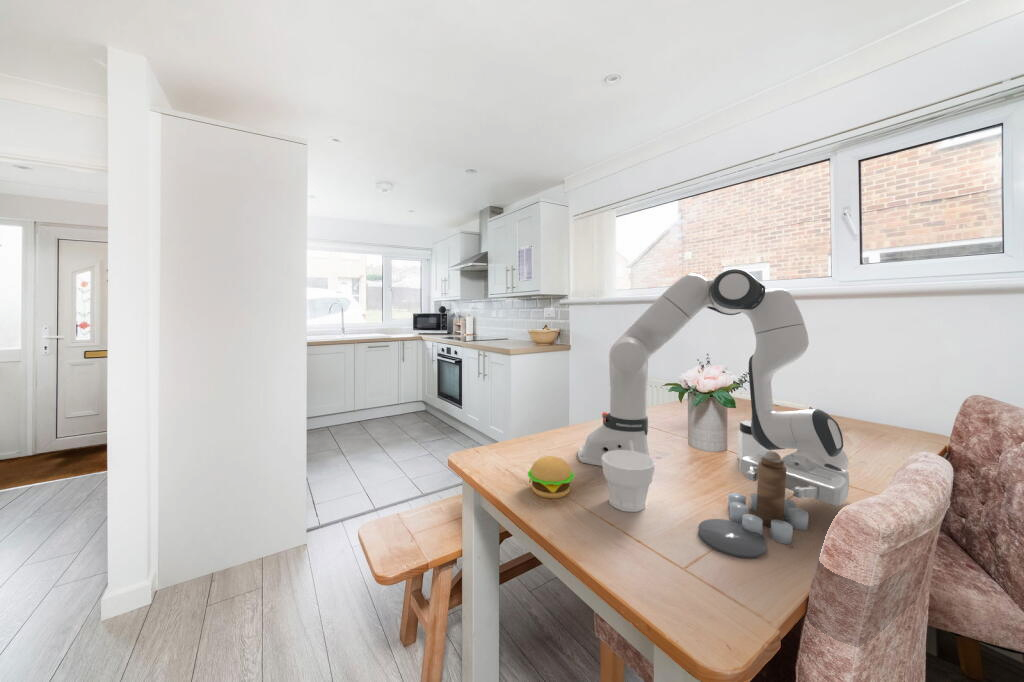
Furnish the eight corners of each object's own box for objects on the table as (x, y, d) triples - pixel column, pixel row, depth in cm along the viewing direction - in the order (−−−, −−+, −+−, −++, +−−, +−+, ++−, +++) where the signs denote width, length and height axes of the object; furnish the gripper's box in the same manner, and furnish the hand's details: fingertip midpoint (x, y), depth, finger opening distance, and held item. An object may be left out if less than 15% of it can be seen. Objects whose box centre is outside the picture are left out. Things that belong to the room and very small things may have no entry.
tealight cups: (741, 537, 77) (741, 523, 77) (720, 501, 92) (720, 489, 92) (828, 549, 73) (828, 534, 73) (791, 509, 88) (792, 497, 88)
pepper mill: (760, 527, 81) (764, 454, 80) (752, 515, 86) (755, 446, 85) (787, 530, 80) (791, 456, 79) (777, 518, 85) (781, 448, 83)
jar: (752, 468, 112) (754, 428, 111) (731, 458, 120) (732, 421, 119) (777, 465, 114) (779, 426, 113) (754, 455, 122) (756, 419, 121)
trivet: (705, 552, 73) (705, 547, 72) (693, 519, 84) (693, 515, 84) (777, 563, 69) (777, 558, 69) (753, 527, 81) (753, 523, 81)
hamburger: (583, 490, 98) (583, 458, 98) (554, 507, 90) (554, 472, 89) (548, 476, 107) (548, 446, 106) (518, 490, 98) (518, 458, 98)
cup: (650, 494, 96) (651, 451, 95) (657, 520, 84) (659, 471, 83) (600, 489, 99) (601, 448, 98) (600, 513, 87) (601, 466, 86)
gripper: (756, 445, 98) (725, 455, 91) (858, 474, 81) (829, 489, 74) (755, 468, 99) (724, 480, 92) (856, 502, 81) (827, 520, 74)
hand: (772, 484), depth 83 cm, fingers open, 8 cm apart
